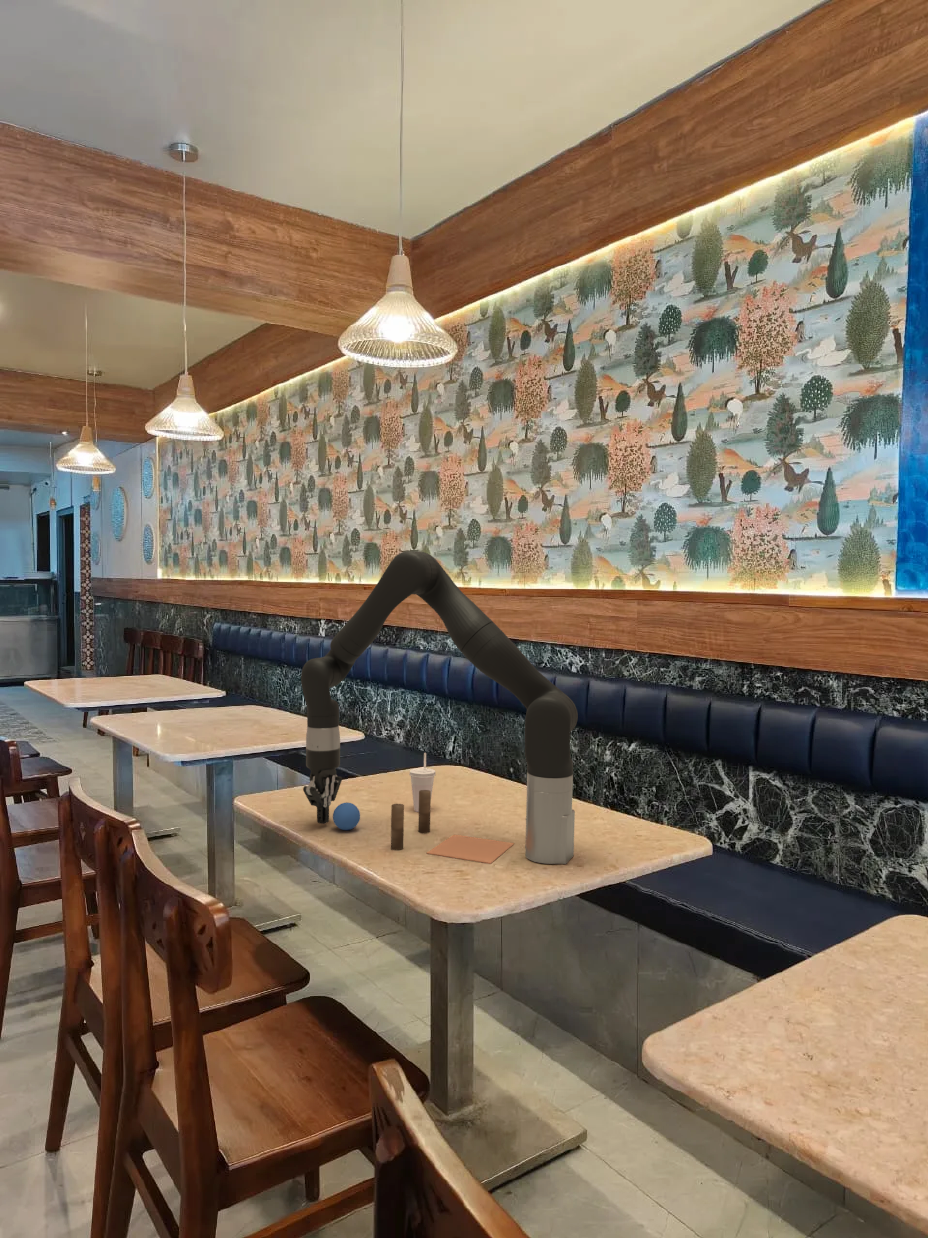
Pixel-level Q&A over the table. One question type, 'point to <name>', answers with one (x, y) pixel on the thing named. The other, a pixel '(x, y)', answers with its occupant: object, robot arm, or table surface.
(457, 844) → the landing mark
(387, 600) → the robot arm
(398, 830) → the left post
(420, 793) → the right post
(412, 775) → the smoothie
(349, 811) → the ball
